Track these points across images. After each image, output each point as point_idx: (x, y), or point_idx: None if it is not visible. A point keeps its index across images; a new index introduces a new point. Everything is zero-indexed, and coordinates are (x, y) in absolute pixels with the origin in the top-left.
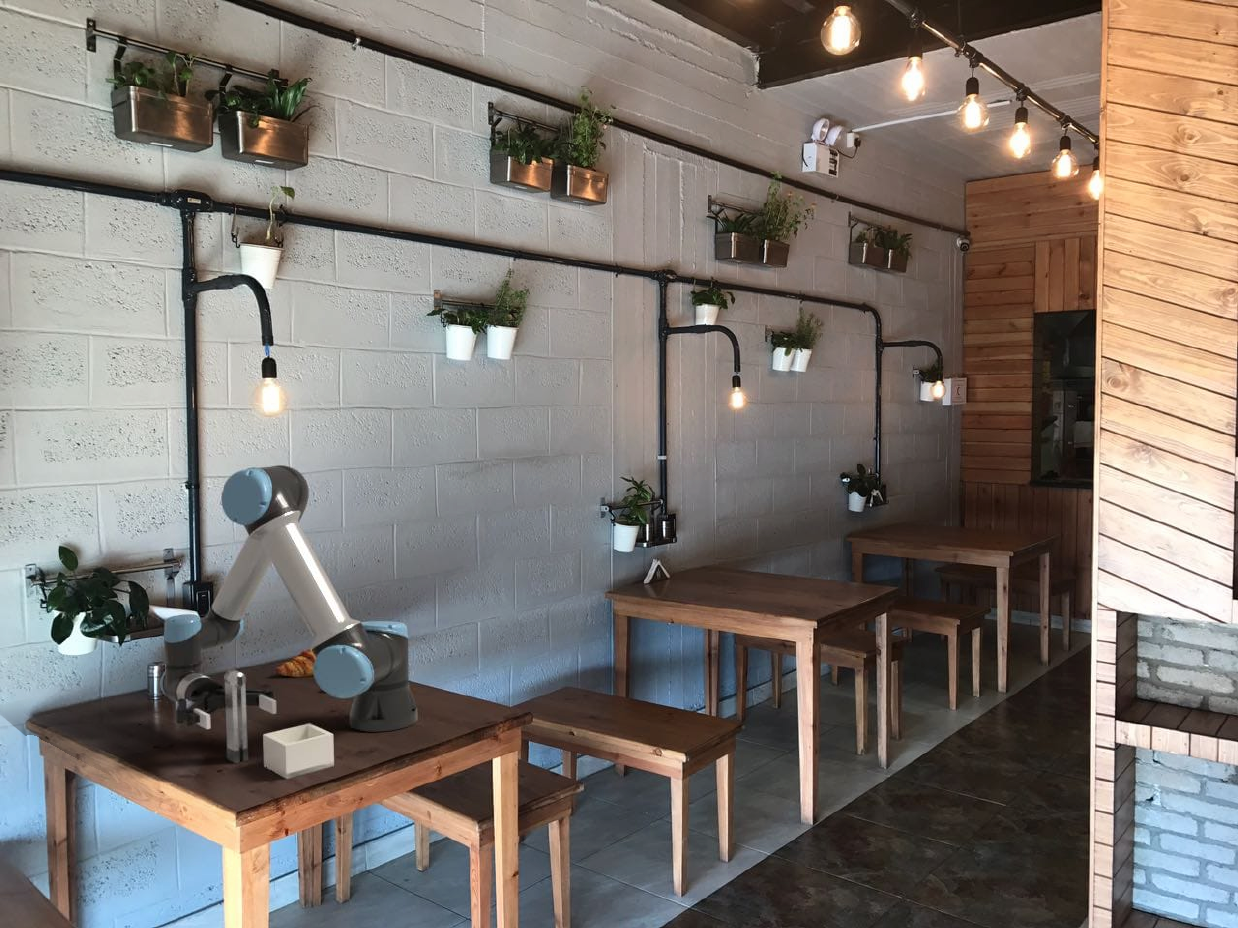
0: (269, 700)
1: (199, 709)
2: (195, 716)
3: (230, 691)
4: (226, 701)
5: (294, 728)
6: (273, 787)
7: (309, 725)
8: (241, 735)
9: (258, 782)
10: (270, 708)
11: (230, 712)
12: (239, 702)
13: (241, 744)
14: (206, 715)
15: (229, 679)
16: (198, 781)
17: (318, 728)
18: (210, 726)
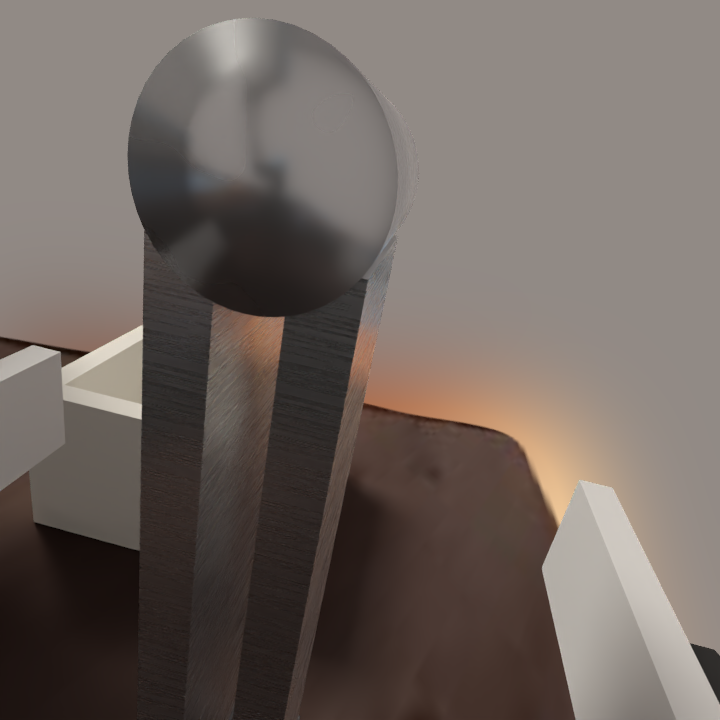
0: (14, 380)
1: (673, 716)
2: (705, 649)
3: (375, 329)
4: (324, 525)
5: (129, 402)
6: (378, 450)
7: (65, 379)
8: (237, 654)
9: (383, 498)
10: (33, 433)
11: (330, 539)
12: (260, 435)
13: (229, 708)
14: (609, 494)
15: (413, 180)
16: (561, 697)
17: (105, 351)
18: (546, 557)
